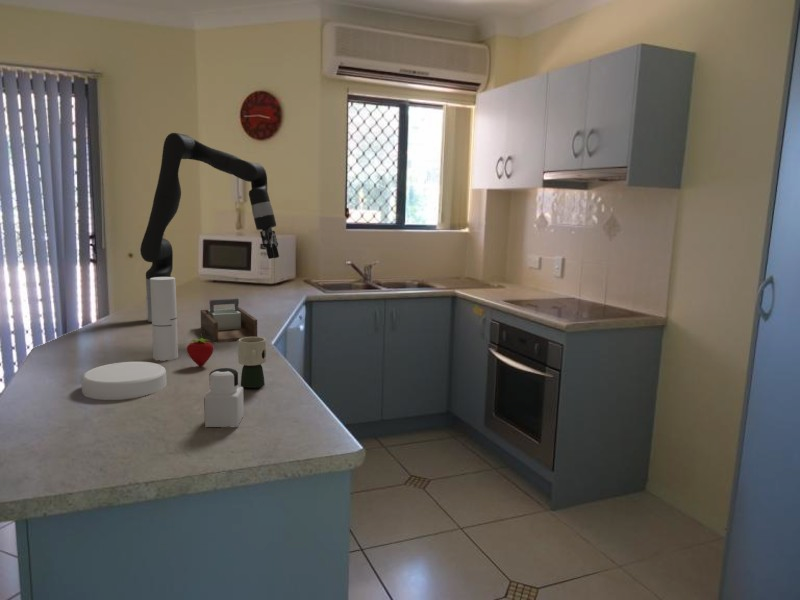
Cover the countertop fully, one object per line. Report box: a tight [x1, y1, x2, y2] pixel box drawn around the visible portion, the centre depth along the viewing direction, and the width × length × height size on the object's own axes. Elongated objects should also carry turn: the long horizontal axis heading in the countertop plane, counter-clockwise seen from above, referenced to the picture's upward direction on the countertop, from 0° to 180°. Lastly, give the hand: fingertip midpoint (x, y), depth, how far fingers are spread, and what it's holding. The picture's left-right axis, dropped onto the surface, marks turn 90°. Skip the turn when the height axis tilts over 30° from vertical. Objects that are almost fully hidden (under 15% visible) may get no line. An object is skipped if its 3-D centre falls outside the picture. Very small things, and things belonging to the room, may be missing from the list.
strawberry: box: [186, 334, 215, 367], centre depth 169 cm, size 6×8×10 cm
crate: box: [207, 297, 241, 330], centre depth 217 cm, size 10×10×11 cm
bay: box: [200, 307, 258, 343], centre depth 213 cm, size 15×26×7 cm, turn 29°
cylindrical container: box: [150, 276, 179, 362], centre depth 176 cm, size 7×7×25 cm
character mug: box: [237, 336, 267, 389], centre depth 152 cm, size 11×7×13 cm, turn 18°
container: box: [80, 361, 167, 401], centre depth 149 cm, size 20×20×5 cm
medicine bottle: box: [203, 367, 245, 428], centre depth 127 cm, size 7×7×12 cm
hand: (274, 258), depth 216 cm, fingers open, 8 cm apart
